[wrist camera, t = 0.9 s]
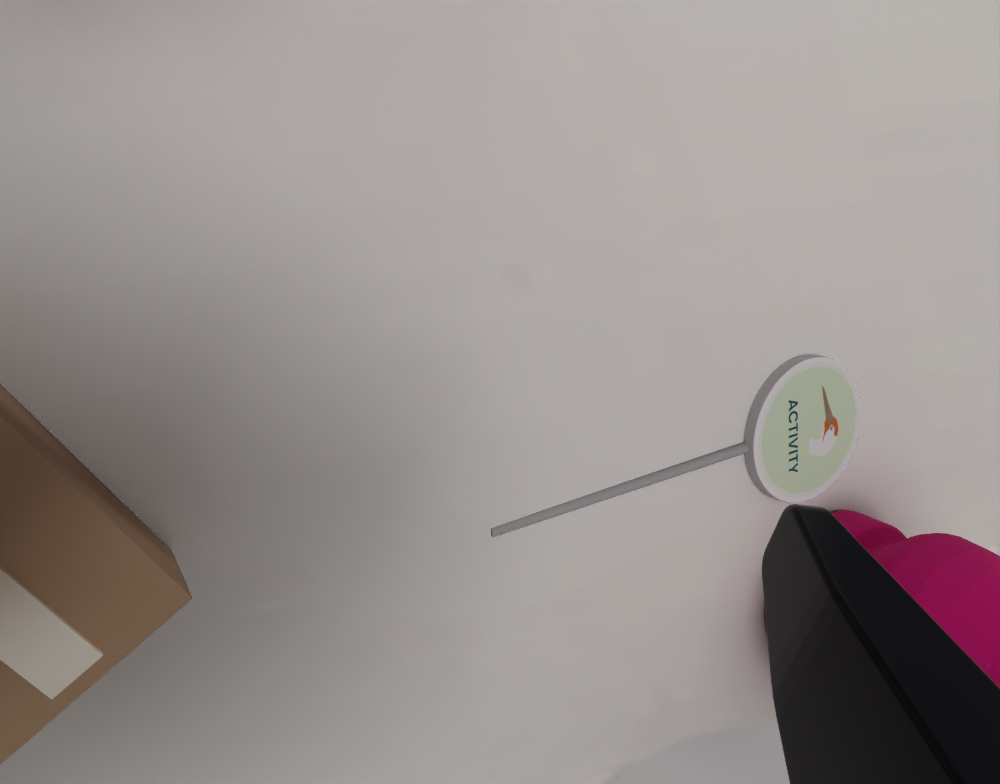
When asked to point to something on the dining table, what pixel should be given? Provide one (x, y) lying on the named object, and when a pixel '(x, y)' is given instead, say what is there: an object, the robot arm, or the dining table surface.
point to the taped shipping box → (67, 577)
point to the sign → (772, 438)
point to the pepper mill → (942, 582)
